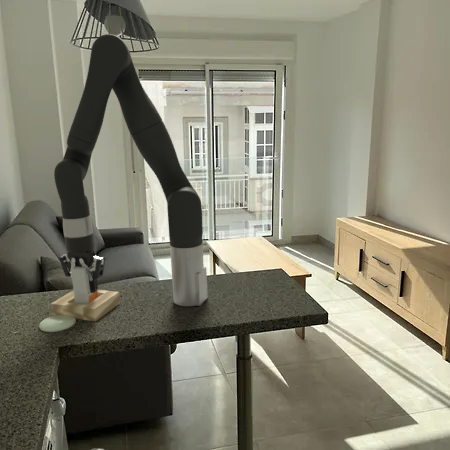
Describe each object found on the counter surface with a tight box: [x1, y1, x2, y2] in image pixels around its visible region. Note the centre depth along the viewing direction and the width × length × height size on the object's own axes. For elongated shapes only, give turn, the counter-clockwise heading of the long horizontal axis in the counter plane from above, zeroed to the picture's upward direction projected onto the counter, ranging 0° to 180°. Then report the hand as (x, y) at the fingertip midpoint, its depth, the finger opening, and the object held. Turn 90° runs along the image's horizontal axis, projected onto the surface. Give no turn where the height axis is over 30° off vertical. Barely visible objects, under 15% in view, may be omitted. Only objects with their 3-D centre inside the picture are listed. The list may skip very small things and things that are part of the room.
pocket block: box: [50, 289, 121, 322], centre depth 124 cm, size 14×12×4 cm
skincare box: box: [71, 262, 99, 305], centre depth 123 cm, size 6×4×12 cm
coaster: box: [38, 315, 76, 333], centre depth 116 cm, size 9×9×1 cm
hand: (86, 290), depth 123 cm, fingers closed on skincare box, 4 cm apart
